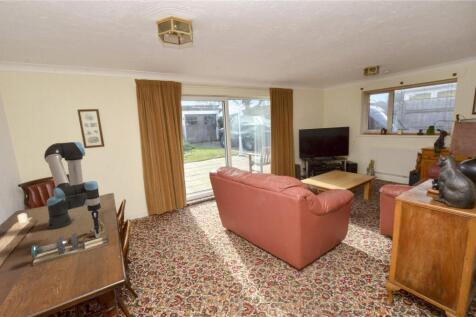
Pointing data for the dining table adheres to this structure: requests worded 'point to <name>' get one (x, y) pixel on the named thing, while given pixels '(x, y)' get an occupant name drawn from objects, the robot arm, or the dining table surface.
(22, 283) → the dining table surface
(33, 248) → the shaft
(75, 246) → the grey angular blocks
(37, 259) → the board
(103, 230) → the bone
